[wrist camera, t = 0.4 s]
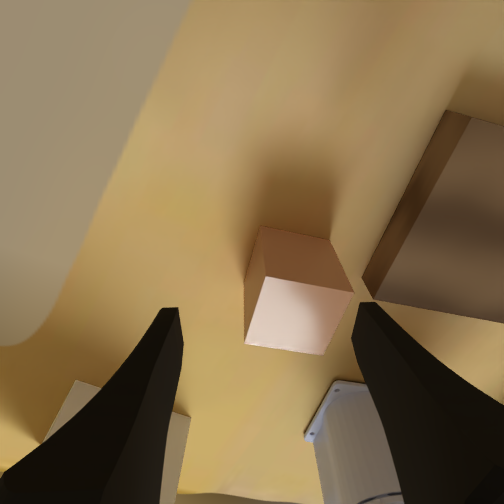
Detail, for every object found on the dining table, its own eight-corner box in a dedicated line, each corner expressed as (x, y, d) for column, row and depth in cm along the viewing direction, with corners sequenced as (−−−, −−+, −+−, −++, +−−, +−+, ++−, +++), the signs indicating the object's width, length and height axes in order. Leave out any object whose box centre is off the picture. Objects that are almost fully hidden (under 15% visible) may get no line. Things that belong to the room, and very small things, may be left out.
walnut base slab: (500, 304, 27) (523, 326, 24) (362, 278, 25) (373, 299, 23) (617, 158, 21) (660, 170, 19) (445, 110, 19) (471, 117, 17)
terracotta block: (306, 295, 26) (323, 355, 21) (243, 283, 25) (244, 343, 20) (329, 239, 23) (354, 292, 18) (260, 225, 22) (265, 276, 17)
